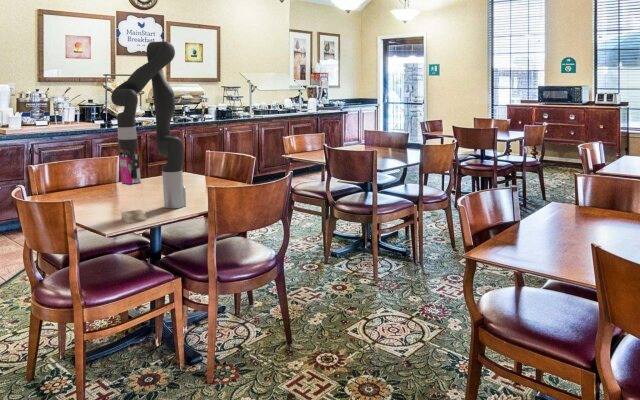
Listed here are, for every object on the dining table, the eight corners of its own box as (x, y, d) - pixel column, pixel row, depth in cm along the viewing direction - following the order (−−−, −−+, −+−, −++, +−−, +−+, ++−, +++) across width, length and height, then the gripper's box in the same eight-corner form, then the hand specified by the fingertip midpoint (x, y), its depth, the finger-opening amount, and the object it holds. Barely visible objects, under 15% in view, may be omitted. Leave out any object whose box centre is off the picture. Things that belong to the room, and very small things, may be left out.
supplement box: (133, 181, 233) (131, 155, 231) (141, 183, 230) (139, 156, 227) (121, 183, 229) (118, 156, 226) (128, 185, 225) (126, 158, 223)
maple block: (140, 217, 238) (139, 209, 237) (146, 221, 232) (145, 213, 231) (121, 219, 234) (121, 212, 233) (127, 223, 227) (126, 215, 226)
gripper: (144, 138, 223) (147, 178, 226) (128, 136, 233) (131, 174, 236) (126, 139, 217) (129, 180, 221) (111, 137, 228) (114, 176, 231)
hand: (130, 177), depth 229 cm, fingers closed on supplement box, 6 cm apart
